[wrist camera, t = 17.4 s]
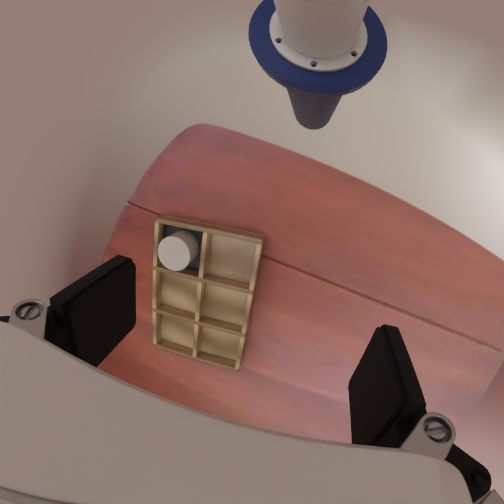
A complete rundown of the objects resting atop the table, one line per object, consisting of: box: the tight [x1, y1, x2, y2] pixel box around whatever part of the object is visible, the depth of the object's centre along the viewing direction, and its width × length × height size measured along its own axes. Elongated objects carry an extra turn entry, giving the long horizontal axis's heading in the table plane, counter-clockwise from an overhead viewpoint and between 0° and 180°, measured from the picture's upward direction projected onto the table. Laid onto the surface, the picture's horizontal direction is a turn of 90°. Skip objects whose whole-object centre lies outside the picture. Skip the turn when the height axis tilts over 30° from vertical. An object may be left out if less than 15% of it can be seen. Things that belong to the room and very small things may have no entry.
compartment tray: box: [152, 215, 265, 372], centre depth 39 cm, size 20×14×2 cm
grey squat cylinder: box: [158, 230, 199, 271], centre depth 36 cm, size 4×4×3 cm
